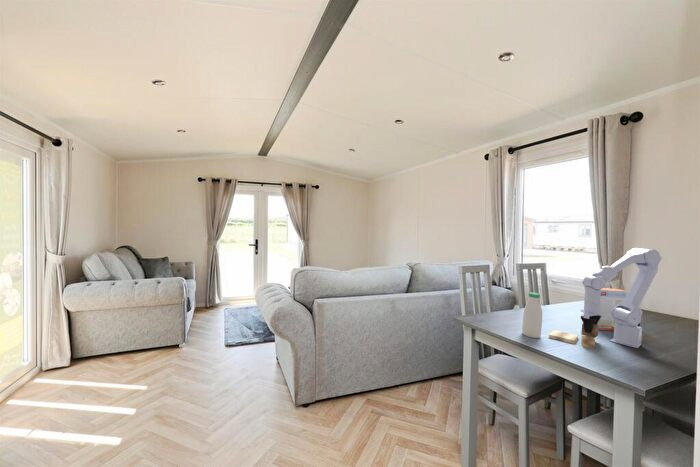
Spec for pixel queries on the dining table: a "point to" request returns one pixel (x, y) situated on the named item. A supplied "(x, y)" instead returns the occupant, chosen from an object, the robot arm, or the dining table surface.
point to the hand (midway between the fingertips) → (589, 331)
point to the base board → (563, 336)
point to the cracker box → (609, 307)
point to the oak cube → (588, 342)
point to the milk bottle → (532, 317)
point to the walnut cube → (593, 333)
